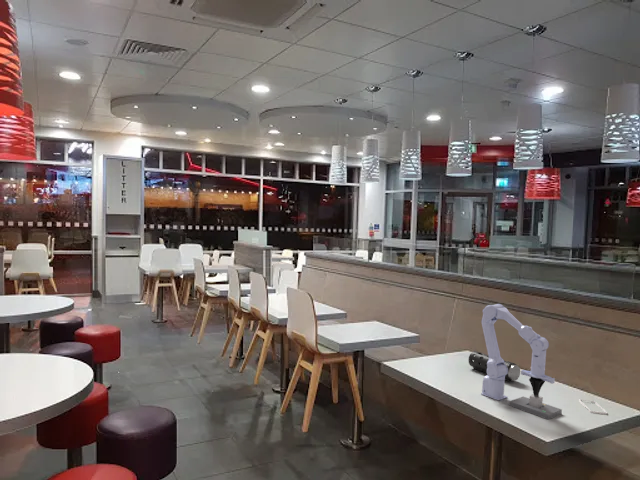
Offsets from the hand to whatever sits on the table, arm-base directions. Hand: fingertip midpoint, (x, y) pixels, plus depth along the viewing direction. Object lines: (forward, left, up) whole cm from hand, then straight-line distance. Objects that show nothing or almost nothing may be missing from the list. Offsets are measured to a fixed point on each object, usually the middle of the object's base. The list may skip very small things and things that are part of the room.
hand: (536, 394), depth 215 cm
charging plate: (0, 0, -7) cm, 7 cm away
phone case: (+13, +28, -8) cm, 32 cm away
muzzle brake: (-39, +29, -7) cm, 49 cm away
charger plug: (0, 0, -7) cm, 7 cm away
